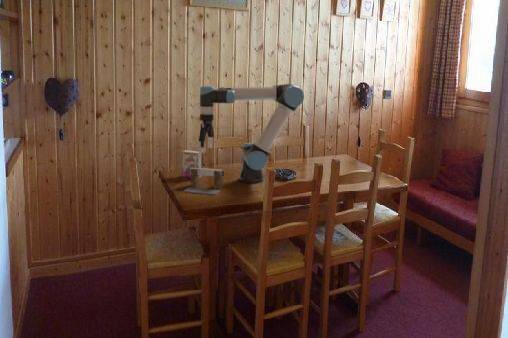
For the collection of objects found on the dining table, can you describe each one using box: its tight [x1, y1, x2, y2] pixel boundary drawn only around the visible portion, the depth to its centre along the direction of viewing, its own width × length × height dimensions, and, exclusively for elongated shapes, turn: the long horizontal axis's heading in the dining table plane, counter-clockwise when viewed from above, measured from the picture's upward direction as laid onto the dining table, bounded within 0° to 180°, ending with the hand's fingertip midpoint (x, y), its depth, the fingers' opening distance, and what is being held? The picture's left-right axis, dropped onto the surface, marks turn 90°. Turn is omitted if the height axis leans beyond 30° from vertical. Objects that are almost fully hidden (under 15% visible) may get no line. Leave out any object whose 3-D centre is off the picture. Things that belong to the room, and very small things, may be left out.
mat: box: [183, 186, 221, 196], centre depth 285 cm, size 19×8×1 cm, turn 78°
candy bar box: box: [181, 149, 202, 179], centre depth 313 cm, size 11×5×16 cm, turn 70°
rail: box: [189, 167, 225, 178], centre depth 294 cm, size 20×4×4 cm, turn 78°
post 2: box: [213, 167, 223, 190], centre depth 293 cm, size 3×7×11 cm, turn 168°
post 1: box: [190, 166, 200, 188], centre depth 296 cm, size 3×7×11 cm, turn 168°
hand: (206, 150), depth 291 cm, fingers open, 13 cm apart
